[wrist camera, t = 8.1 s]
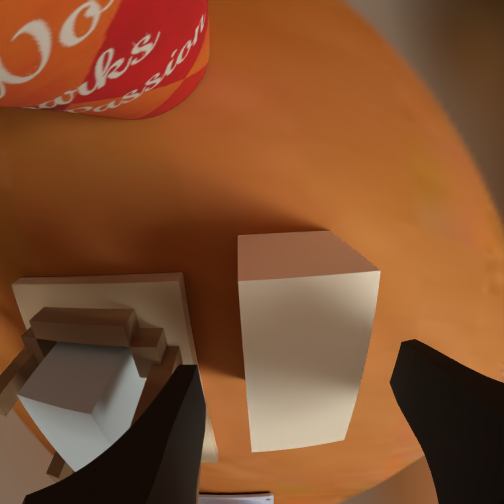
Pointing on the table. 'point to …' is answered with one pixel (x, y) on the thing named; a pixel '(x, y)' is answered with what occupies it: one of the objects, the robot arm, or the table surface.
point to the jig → (107, 333)
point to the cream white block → (303, 335)
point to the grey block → (83, 398)
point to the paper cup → (102, 55)
